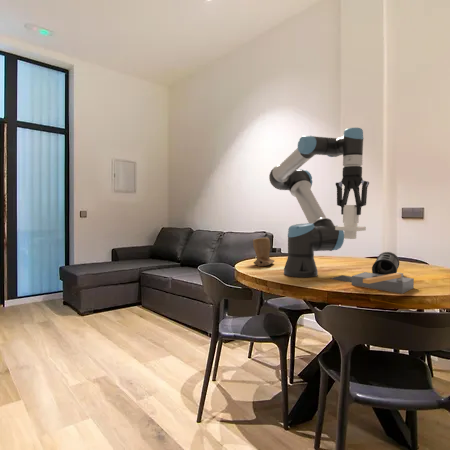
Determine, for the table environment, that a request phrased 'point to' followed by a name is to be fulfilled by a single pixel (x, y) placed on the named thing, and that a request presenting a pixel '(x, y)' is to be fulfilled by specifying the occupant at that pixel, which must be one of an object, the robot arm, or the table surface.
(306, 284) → the table surface
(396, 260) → the muzzle brake
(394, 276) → the tan wooden bar
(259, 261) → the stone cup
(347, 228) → the plug
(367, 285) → the socket block
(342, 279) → the mat
